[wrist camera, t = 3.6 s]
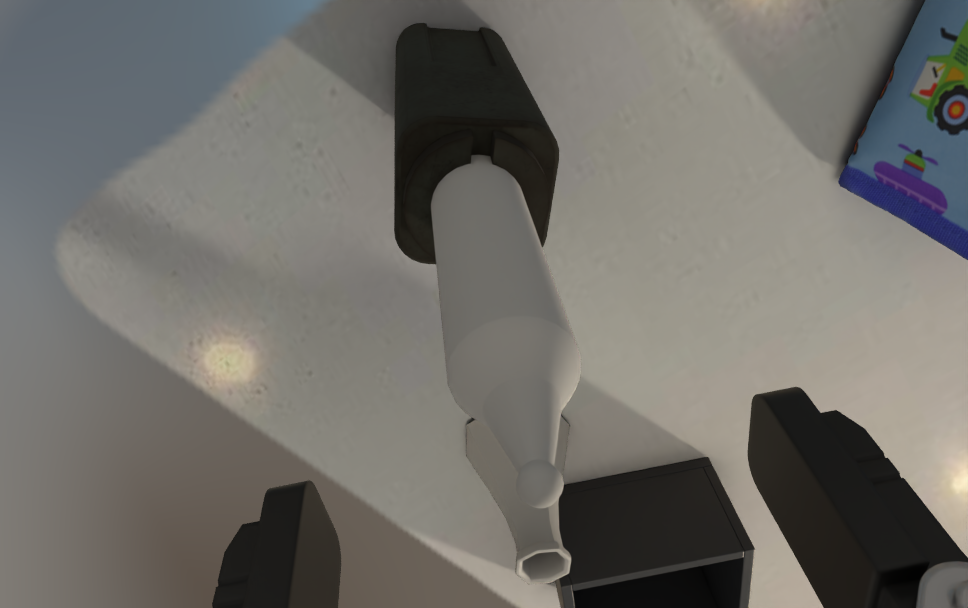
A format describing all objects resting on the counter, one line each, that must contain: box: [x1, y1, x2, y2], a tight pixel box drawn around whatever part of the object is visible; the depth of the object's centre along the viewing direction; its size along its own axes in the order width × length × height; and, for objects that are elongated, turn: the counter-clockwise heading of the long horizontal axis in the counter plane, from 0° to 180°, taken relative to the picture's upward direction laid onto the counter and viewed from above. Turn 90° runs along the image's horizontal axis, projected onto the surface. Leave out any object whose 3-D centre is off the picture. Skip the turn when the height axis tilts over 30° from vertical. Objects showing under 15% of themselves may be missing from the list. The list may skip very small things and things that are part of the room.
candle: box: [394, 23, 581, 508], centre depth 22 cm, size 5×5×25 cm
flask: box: [466, 416, 571, 584], centre depth 42 cm, size 7×7×10 cm
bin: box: [555, 457, 755, 608], centre depth 50 cm, size 12×12×8 cm
